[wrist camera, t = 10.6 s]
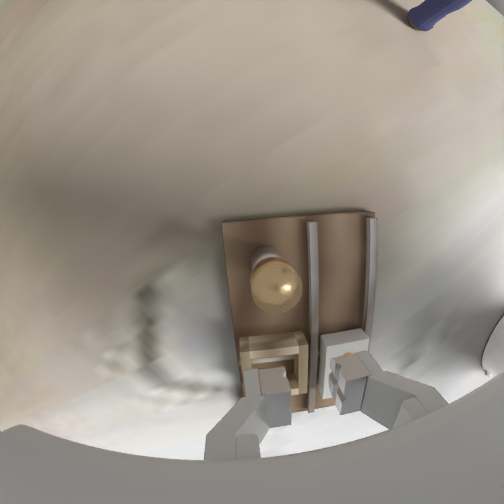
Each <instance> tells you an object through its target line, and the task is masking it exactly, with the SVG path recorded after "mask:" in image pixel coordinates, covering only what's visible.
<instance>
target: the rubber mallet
mask: <svg viewBox="0 0 504 504" xmlns="http://www.w3.org/2000/svg"><path fill="white" fill-rule="evenodd" d="M471 1H472V0H425V1H424V2H423V3H422V4H420V5H419V6H417V7H415V8H412V9H411V10H409V12H408V21H409V23H410V24H411V25H412V26H413V27H414V28H415V29H417V30H419V31H428V30H430V29H432V28H433V26H434V25H435V23H436V22H437V21H439V20H440V19H442V18H443V17H445V16H446V15H448V14H449V13H451V12H453V11H456V10H458V9H460V8H462V7H464V6H465V5H467V4H468V3H469V2H471Z"/></svg>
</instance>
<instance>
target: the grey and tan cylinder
mask: <svg viewBox="0 0 504 504" xmlns="http://www.w3.org/2000/svg"><path fill="white" fill-rule="evenodd" d="M251 265H252V272H251V276H250V284H251V292H252V297H253V300H254V302H255V304H256V305H257V306H258V307H259V308H260V309H261V310H263V311H265V312H268V313H272V314H279V313H284V312H286V311H289V310H290V309H292V308H293V307H294V306H295V305H296V304H297V303H298V301H299V300H300V298H301V295H302V288H303V287H302V282H301V279H300V277H299V276H298V274H297V273H296V271H295V270H294V268H293V267H292V265H291V264H290V263H289V262H288V261H286V260H284V259H283V258H282V256H281V255H280V253H279V252H278V250H277V249H276V248H274V247H272V246H269V245H264V246H260V247H258V248H257V249H256V250H255V251H254V252H253V254H252V256H251Z"/></svg>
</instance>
